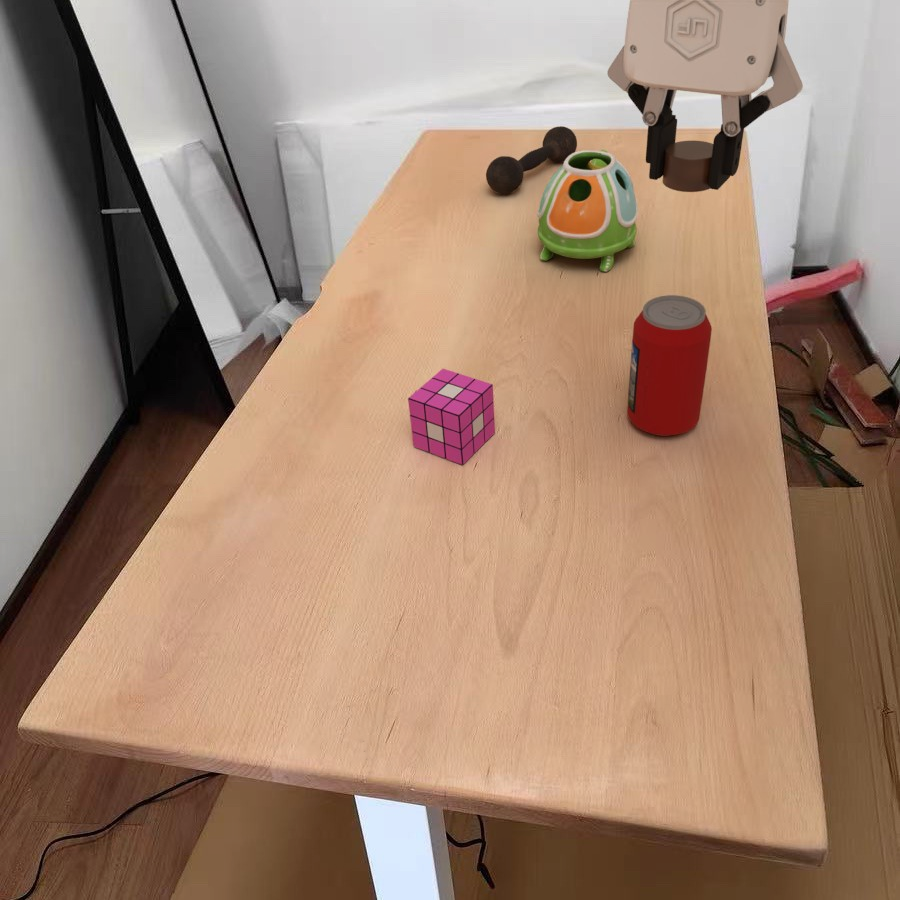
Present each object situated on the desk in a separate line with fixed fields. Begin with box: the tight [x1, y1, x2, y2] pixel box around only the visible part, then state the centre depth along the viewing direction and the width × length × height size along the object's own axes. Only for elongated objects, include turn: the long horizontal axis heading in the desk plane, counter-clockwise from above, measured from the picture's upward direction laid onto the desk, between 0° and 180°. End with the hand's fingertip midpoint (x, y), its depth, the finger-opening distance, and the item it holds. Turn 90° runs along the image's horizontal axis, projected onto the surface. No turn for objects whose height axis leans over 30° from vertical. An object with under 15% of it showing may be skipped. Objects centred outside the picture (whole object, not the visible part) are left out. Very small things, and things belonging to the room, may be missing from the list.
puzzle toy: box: [407, 368, 496, 466], centre depth 81 cm, size 6×6×6 cm
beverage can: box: [627, 294, 713, 437], centre depth 79 cm, size 7×7×12 cm
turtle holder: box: [536, 149, 639, 273], centre depth 110 cm, size 12×18×12 cm
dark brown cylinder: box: [662, 140, 713, 193], centre depth 65 cm, size 4×4×2 cm
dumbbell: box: [485, 125, 578, 195], centre depth 131 cm, size 20×5×5 cm, turn 141°
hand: (689, 175), depth 66 cm, fingers closed on dark brown cylinder, 4 cm apart
